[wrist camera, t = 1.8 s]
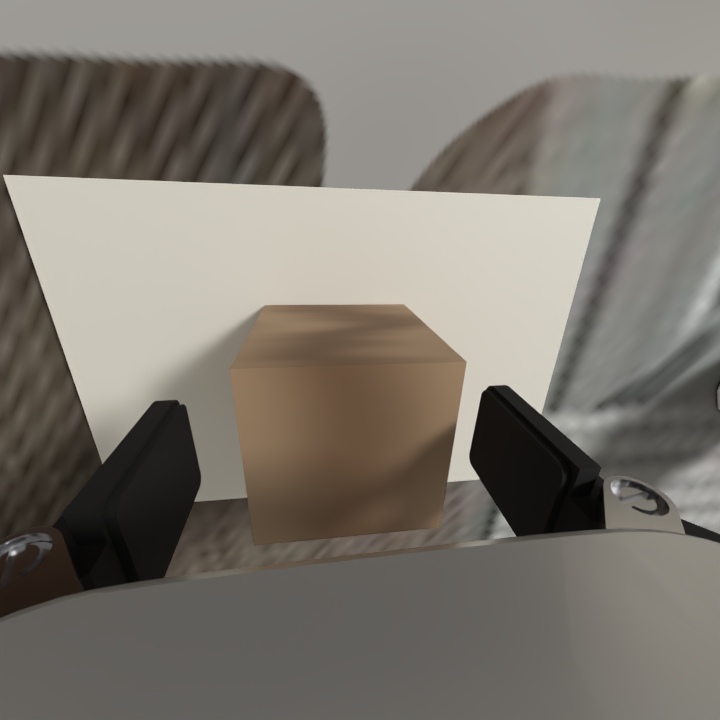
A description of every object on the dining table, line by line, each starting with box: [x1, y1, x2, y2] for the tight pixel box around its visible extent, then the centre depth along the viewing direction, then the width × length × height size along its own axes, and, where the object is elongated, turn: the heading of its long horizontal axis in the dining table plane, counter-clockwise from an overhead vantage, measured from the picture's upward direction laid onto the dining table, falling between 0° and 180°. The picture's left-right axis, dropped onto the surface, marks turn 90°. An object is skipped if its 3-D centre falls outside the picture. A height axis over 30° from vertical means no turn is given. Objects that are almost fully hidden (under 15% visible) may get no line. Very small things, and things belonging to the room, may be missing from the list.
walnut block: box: [229, 304, 467, 546], centre depth 13 cm, size 6×6×7 cm
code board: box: [3, 175, 600, 502], centre depth 17 cm, size 24×16×1 cm, turn 89°
